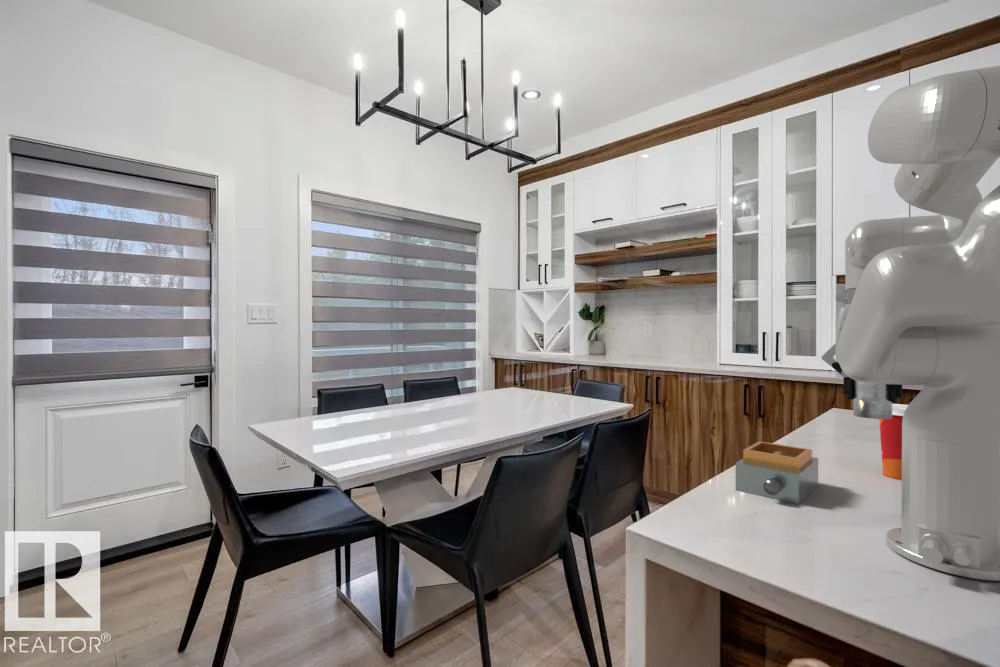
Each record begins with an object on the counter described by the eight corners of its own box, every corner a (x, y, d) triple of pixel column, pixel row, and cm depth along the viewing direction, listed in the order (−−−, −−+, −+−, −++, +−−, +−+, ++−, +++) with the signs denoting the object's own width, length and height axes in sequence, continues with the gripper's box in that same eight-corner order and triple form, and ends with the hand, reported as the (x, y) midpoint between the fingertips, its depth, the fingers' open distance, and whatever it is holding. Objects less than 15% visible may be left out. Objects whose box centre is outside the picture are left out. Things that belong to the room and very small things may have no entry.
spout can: (889, 420, 79) (888, 356, 79) (849, 417, 83) (849, 356, 83) (893, 416, 84) (893, 356, 84) (856, 413, 88) (855, 355, 88)
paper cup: (907, 471, 97) (907, 403, 97) (938, 483, 89) (938, 409, 89) (866, 470, 97) (867, 402, 97) (893, 482, 90) (894, 409, 90)
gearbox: (794, 508, 77) (794, 465, 77) (730, 493, 84) (730, 454, 84) (818, 484, 89) (818, 447, 89) (760, 472, 96) (760, 438, 96)
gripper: (810, 300, 88) (810, 398, 87) (935, 294, 76) (936, 407, 75) (819, 303, 93) (820, 395, 93) (937, 297, 81) (939, 403, 80)
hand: (872, 399), depth 84 cm, fingers closed on spout can, 5 cm apart
